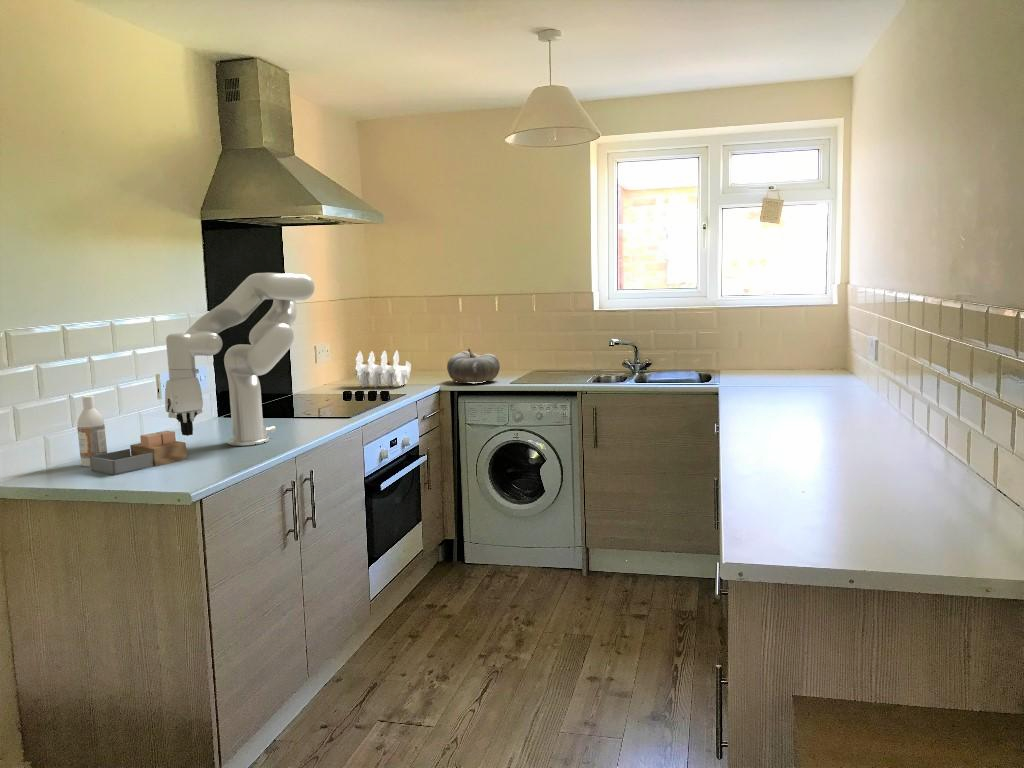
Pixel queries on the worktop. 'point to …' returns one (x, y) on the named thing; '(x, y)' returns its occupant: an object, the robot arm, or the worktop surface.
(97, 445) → the bath foam
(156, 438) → the light orange block
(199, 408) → the robot arm
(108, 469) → the tray
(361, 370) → the white shapes
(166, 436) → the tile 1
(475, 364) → the gourd
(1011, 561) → the worktop surface
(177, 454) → the brown slab
